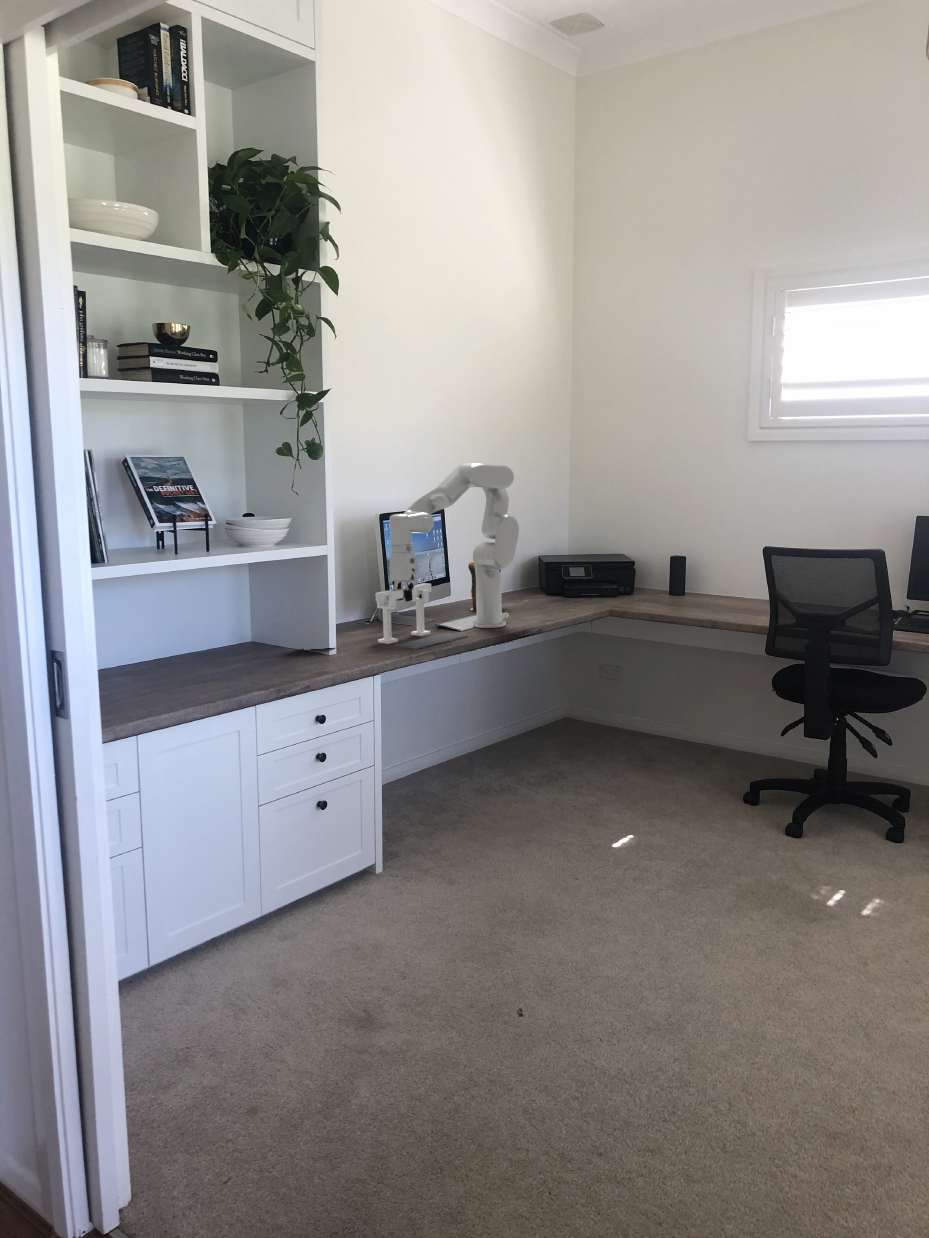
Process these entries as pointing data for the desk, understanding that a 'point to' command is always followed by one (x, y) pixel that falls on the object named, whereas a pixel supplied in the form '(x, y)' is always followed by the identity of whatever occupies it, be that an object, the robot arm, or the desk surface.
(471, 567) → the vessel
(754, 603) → the desk surface
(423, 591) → the hook standards
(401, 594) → the rail
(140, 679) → the desk surface
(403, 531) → the robot arm
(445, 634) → the mat
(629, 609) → the desk surface
